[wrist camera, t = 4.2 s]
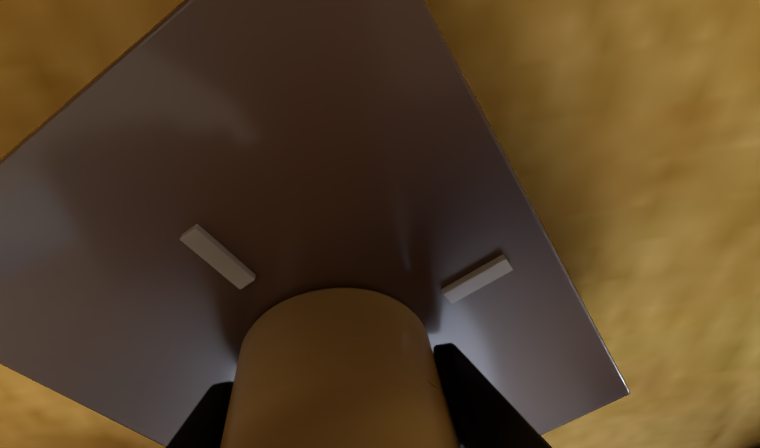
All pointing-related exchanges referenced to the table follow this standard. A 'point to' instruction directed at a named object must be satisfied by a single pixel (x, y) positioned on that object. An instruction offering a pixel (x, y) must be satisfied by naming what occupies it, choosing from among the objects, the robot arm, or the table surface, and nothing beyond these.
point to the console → (277, 213)
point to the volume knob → (338, 377)
